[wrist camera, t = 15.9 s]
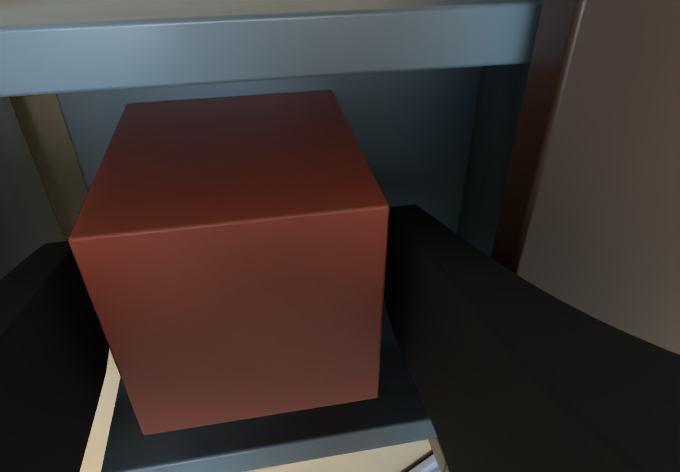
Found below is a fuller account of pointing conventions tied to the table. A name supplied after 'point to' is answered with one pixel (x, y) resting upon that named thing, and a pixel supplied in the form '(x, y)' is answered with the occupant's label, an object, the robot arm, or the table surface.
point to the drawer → (276, 78)
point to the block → (236, 258)
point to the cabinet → (599, 167)
